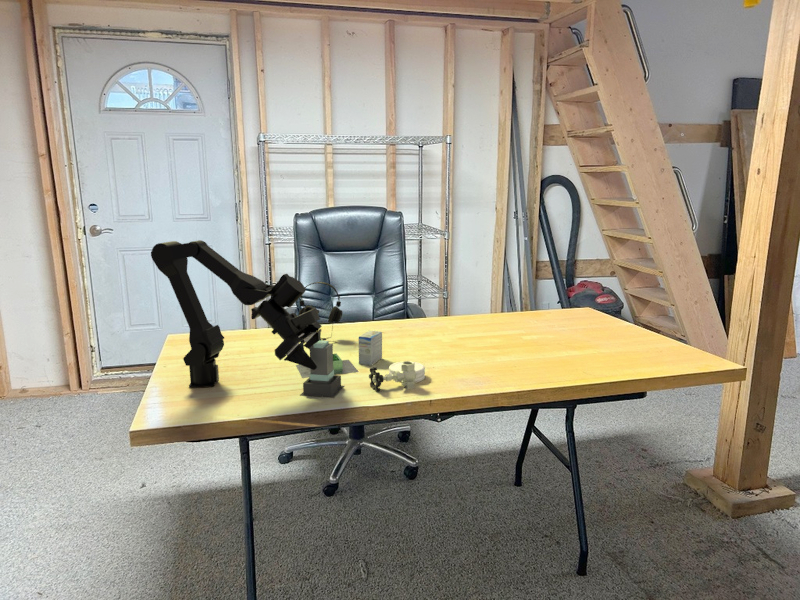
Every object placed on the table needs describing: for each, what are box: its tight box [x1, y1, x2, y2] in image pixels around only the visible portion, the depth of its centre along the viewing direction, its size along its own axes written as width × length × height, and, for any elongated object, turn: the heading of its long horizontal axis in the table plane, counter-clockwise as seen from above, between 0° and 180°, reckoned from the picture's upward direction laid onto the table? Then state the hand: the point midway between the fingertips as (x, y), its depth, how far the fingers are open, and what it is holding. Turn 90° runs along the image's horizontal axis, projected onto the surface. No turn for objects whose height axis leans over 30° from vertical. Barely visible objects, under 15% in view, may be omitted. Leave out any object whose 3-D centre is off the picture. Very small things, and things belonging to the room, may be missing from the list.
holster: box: [299, 374, 345, 399], centre depth 145 cm, size 9×9×4 cm
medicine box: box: [358, 330, 383, 367], centre depth 170 cm, size 8×4×9 cm, turn 159°
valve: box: [368, 360, 416, 393], centre depth 148 cm, size 7×7×12 cm
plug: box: [309, 339, 334, 384], centre depth 144 cm, size 5×5×13 cm
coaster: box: [388, 360, 426, 384], centre depth 156 cm, size 10×10×4 cm
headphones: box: [298, 281, 344, 345], centre depth 193 cm, size 15×11×20 cm
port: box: [295, 353, 359, 379], centre depth 162 cm, size 16×12×4 cm
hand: (322, 363), depth 144 cm, fingers open, 9 cm apart
